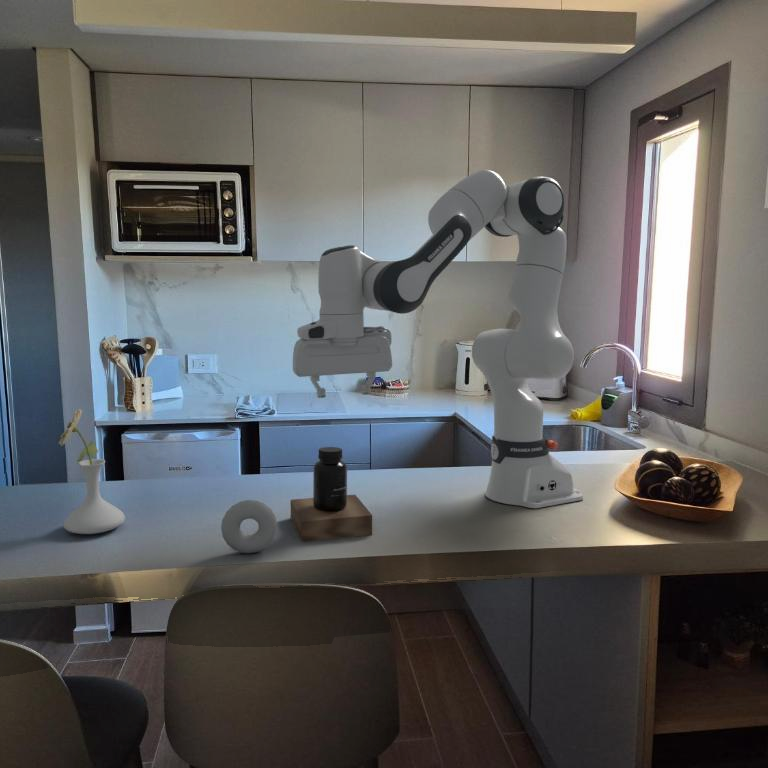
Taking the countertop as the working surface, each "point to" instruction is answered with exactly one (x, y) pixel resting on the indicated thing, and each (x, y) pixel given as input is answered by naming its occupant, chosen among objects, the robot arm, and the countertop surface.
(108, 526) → the flower in vase
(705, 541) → the countertop surface
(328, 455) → the supplement bottle
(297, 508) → the walnut base
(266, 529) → the donut
